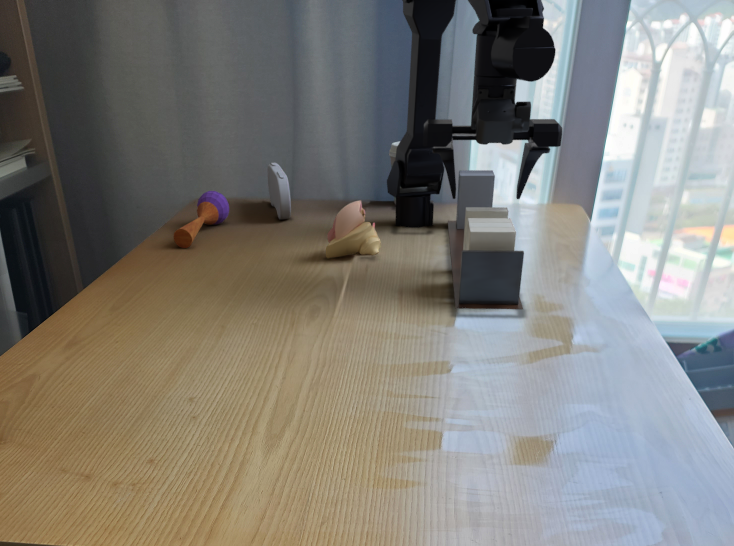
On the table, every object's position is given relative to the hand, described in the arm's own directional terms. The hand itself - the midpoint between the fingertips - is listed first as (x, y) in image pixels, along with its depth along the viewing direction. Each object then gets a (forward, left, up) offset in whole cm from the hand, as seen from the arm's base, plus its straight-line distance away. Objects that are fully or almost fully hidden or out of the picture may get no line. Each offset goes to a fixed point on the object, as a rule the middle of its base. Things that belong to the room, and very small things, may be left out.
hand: (485, 198), depth 109 cm
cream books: (0, -10, -10) cm, 14 cm away
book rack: (0, +6, -11) cm, 13 cm away
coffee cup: (-12, +45, -11) cm, 48 cm away
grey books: (0, +26, -10) cm, 28 cm away
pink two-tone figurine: (-21, +10, -11) cm, 26 cm away
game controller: (-38, +41, -12) cm, 57 cm away
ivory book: (0, -1, -10) cm, 10 cm away
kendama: (-49, +24, -11) cm, 56 cm away
